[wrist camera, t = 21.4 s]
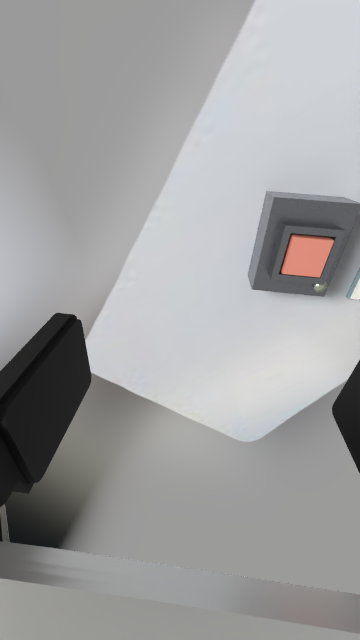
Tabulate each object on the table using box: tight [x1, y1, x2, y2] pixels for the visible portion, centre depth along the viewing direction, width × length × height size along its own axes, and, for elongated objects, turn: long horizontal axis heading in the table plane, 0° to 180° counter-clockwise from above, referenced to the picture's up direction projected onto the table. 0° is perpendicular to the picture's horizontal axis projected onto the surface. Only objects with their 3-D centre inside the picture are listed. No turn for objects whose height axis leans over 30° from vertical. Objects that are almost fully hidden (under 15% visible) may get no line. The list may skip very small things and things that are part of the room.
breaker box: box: [248, 191, 360, 296], centre depth 35 cm, size 12×10×7 cm
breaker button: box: [280, 233, 334, 277], centre depth 32 cm, size 5×5×2 cm
